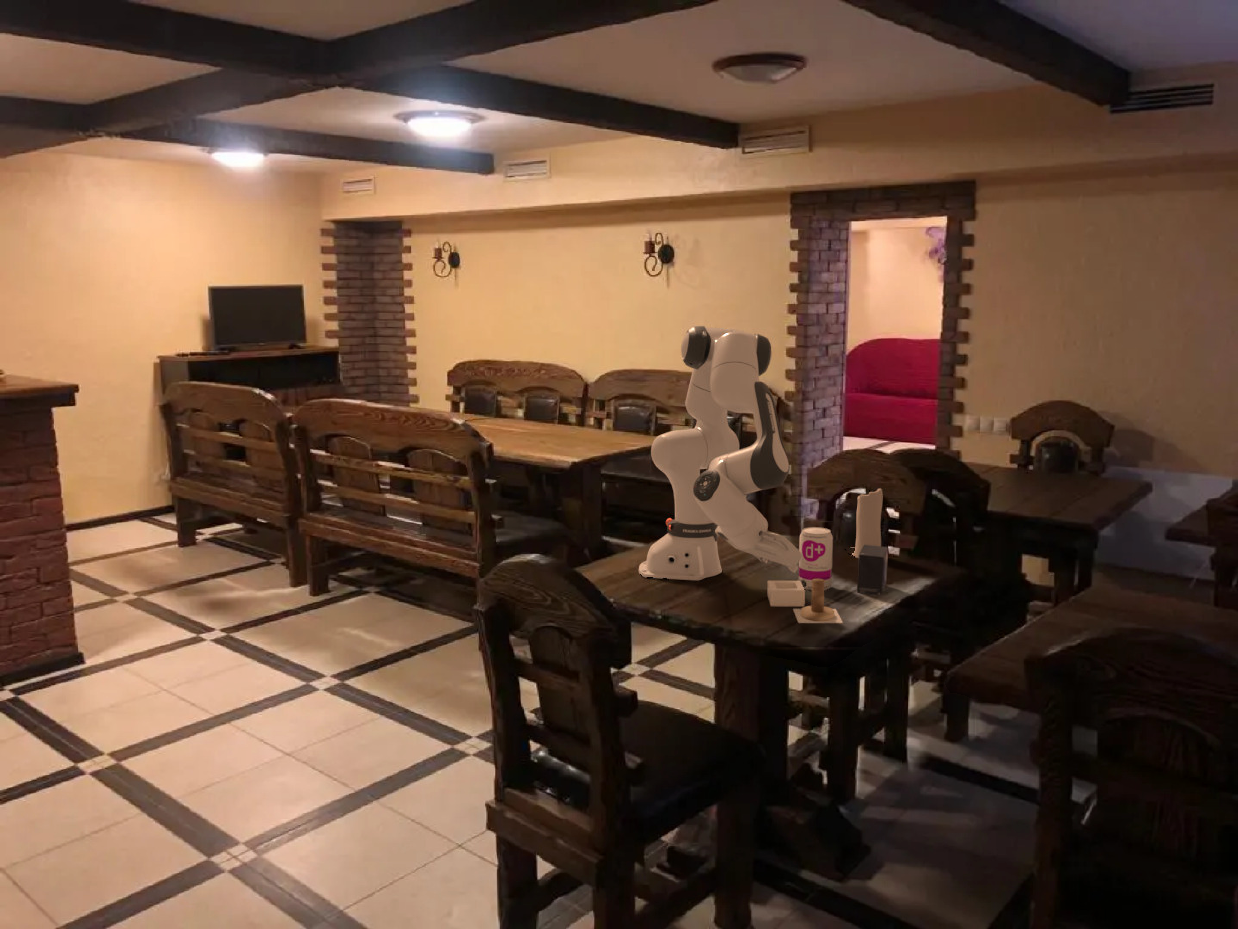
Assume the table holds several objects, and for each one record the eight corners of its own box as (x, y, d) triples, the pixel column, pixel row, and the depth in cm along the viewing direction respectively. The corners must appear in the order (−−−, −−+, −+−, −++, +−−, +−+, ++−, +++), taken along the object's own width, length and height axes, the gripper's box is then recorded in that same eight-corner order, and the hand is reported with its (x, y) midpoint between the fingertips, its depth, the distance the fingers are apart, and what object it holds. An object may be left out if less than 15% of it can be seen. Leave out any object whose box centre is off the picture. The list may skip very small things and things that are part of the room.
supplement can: (825, 594, 247) (827, 535, 245) (794, 589, 251) (795, 532, 249) (835, 585, 254) (837, 528, 252) (804, 581, 258) (805, 525, 256)
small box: (883, 597, 244) (884, 556, 242) (856, 595, 247) (857, 554, 245) (887, 585, 254) (888, 545, 252) (861, 583, 256) (862, 544, 254)
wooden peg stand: (803, 621, 226) (803, 585, 224) (798, 610, 233) (799, 575, 232) (836, 621, 225) (837, 585, 224) (831, 610, 233) (832, 575, 231)
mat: (798, 625, 225) (798, 622, 225) (792, 611, 235) (792, 608, 234) (842, 625, 224) (843, 622, 224) (835, 611, 234) (835, 608, 234)
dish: (770, 608, 237) (771, 590, 236) (767, 598, 245) (767, 580, 244) (804, 608, 236) (804, 590, 236) (800, 598, 244) (800, 580, 244)
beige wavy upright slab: (858, 547, 292) (860, 480, 289) (885, 558, 279) (888, 489, 276) (837, 549, 290) (839, 482, 286) (863, 561, 277) (865, 491, 273)
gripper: (787, 526, 206) (820, 564, 213) (725, 508, 223) (758, 544, 230) (770, 550, 204) (804, 587, 211) (709, 530, 222) (743, 566, 228)
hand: (780, 565), depth 221 cm, fingers open, 8 cm apart
